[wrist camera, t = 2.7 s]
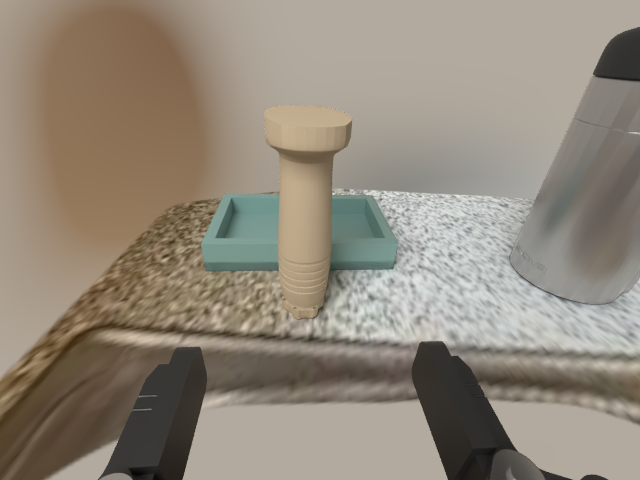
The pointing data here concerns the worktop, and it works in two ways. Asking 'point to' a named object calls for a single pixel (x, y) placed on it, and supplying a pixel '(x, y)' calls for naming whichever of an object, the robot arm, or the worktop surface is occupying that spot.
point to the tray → (262, 234)
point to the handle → (305, 198)
